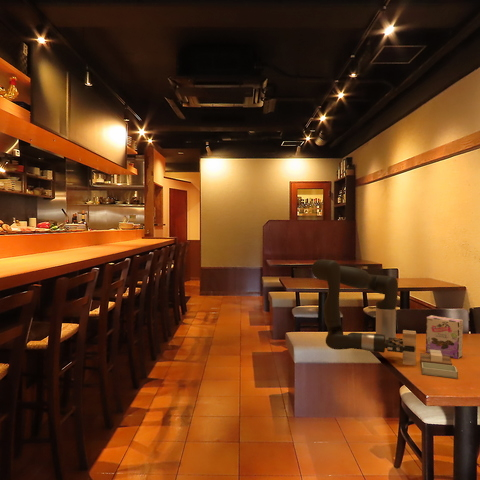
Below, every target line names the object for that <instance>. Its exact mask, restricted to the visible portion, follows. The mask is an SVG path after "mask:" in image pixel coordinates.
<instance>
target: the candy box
mask: <svg viewBox="0 0 480 480" xmlns="http://www.w3.org/2000/svg"><path fill="white" fill-rule="evenodd" d="M463 322H464V321H463V319H457V318H451V317H444V316H437V315H429V316H426V327H425V328H426V330H425V333H426V334H425V353H426V354H430V349H431V350H440V351H441V354H442V355H443V356H450V359H451V358H453V359H455V360H459V359H461V358H462V357H463V337H464V336H463V331H464V329H463V326H464V323H463Z"/></svg>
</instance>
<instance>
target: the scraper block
mask: <svg viewBox="0 0 480 480" xmlns="http://www.w3.org/2000/svg"><path fill="white" fill-rule="evenodd" d="M402 339H403V345H406V346H414V347H415V352H408V351H405V352H403V353H402V365H406V366H407V365H408V366H417V332H416V330H407V329H402Z"/></svg>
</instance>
